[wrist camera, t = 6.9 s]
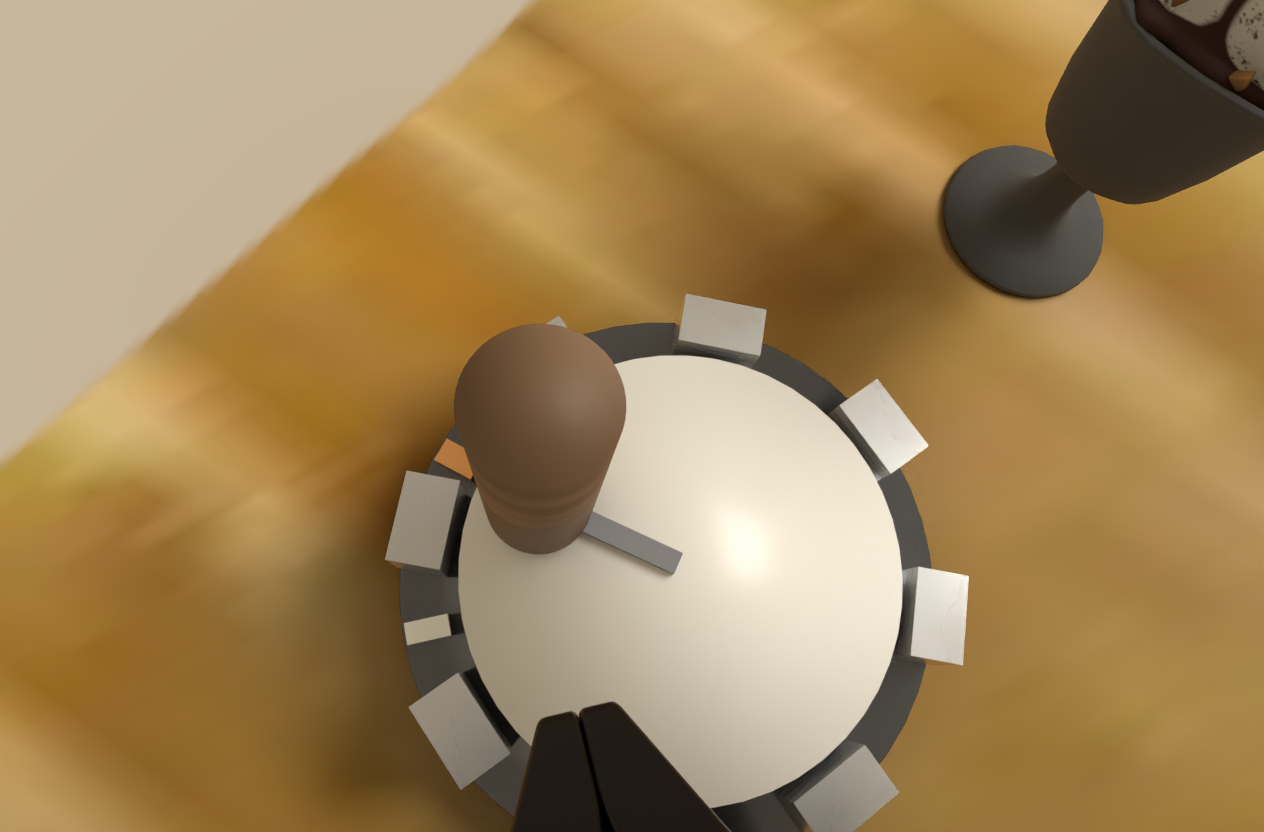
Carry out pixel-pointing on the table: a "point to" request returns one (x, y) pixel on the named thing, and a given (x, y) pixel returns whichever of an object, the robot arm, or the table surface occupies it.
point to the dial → (672, 556)
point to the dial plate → (485, 740)
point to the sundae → (1114, 139)
